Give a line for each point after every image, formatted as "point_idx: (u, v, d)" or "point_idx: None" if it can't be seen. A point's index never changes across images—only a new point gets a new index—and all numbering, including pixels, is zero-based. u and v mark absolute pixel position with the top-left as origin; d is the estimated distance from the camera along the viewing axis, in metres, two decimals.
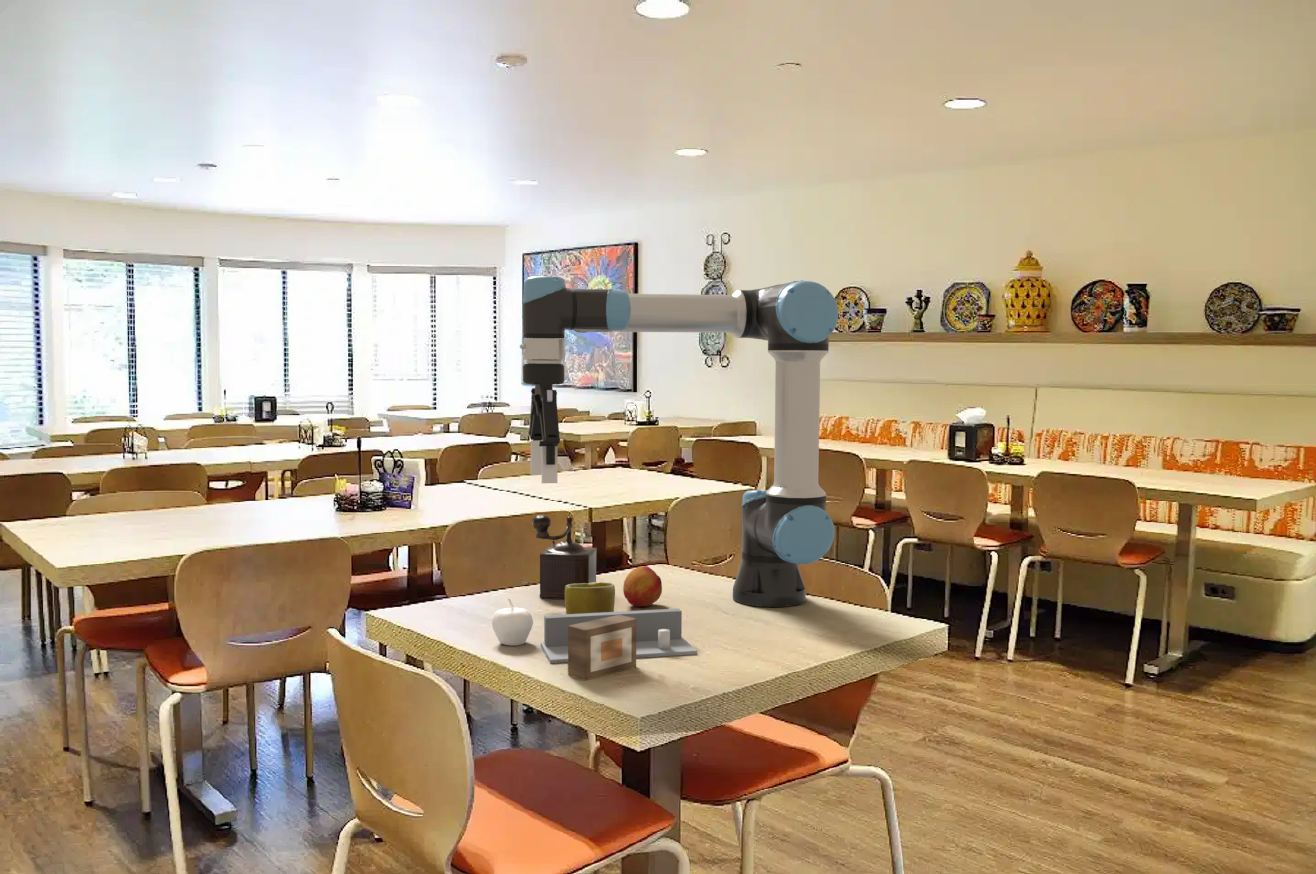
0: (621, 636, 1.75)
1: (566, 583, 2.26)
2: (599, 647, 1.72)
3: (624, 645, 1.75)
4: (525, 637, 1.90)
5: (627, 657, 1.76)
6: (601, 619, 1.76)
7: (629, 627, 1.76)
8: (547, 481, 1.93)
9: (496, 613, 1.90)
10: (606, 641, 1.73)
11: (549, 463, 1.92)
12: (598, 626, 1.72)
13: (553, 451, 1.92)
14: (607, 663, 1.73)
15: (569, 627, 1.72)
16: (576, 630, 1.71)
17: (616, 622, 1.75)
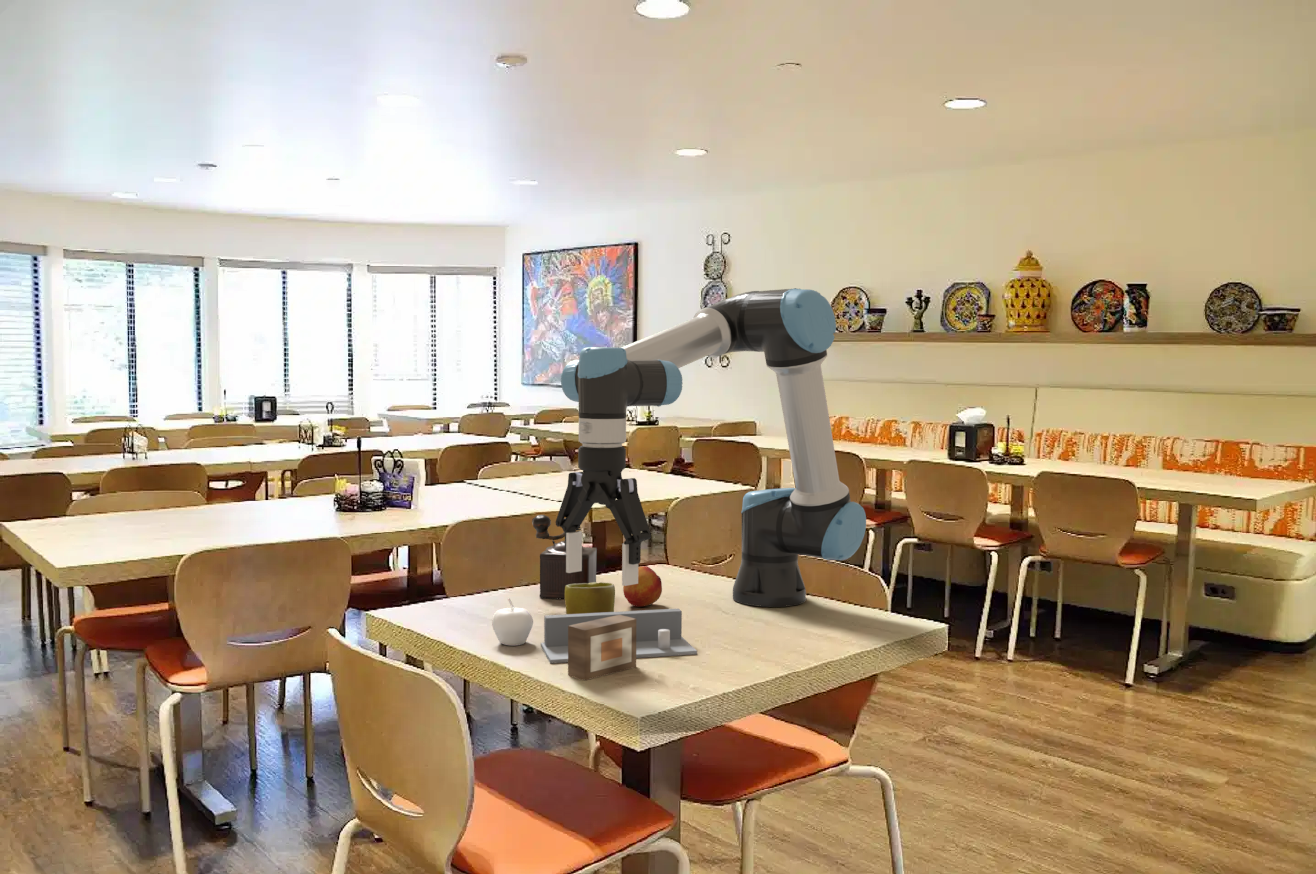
0: (621, 636, 1.75)
1: (566, 583, 2.26)
2: (599, 647, 1.72)
3: (624, 645, 1.75)
4: (525, 637, 1.90)
5: (627, 657, 1.76)
6: (601, 619, 1.76)
7: (629, 627, 1.76)
8: (629, 583, 1.69)
9: (496, 613, 1.90)
10: (606, 641, 1.73)
11: (635, 562, 1.68)
12: (598, 626, 1.72)
13: (639, 548, 1.68)
14: (607, 663, 1.73)
15: (569, 627, 1.72)
16: (576, 630, 1.71)
17: (616, 622, 1.75)
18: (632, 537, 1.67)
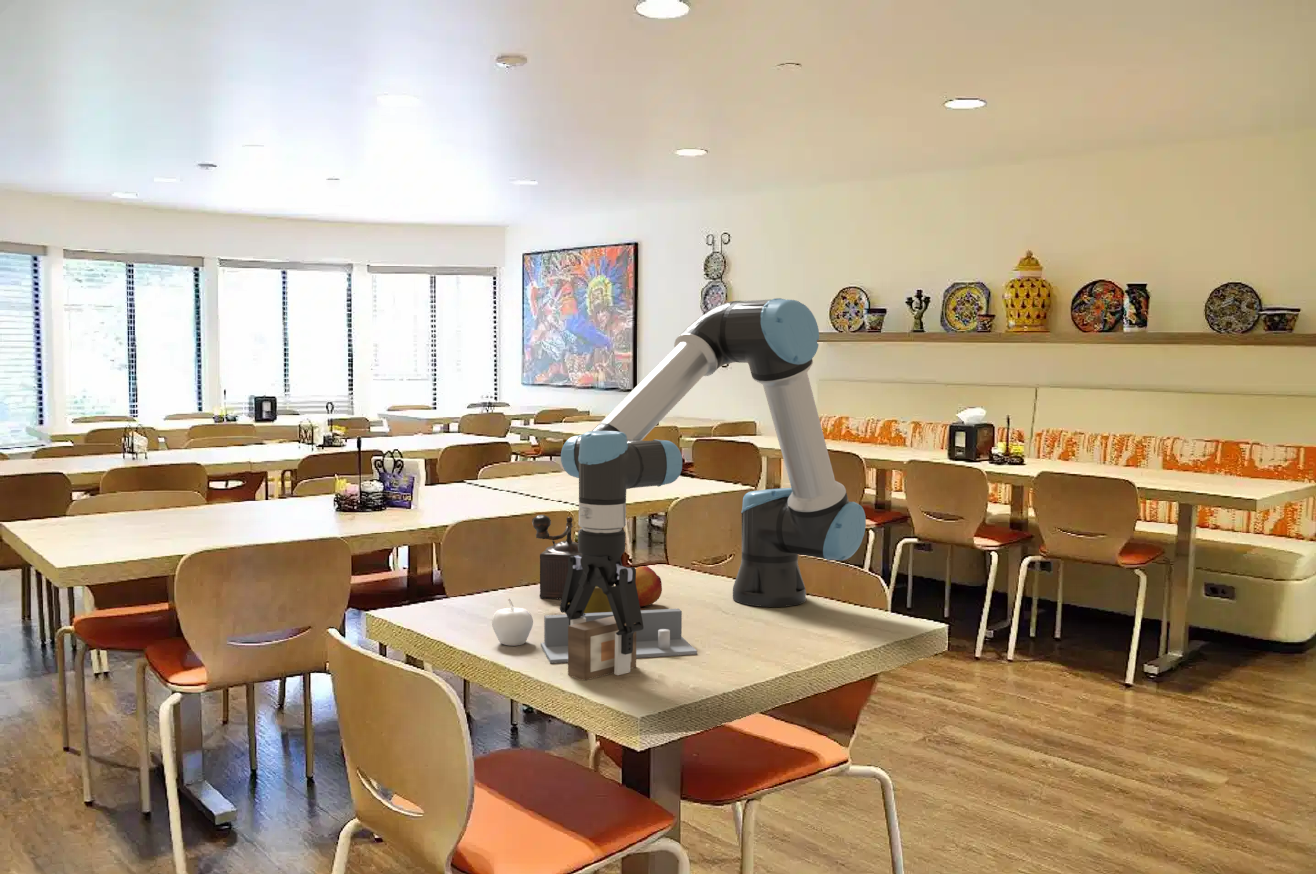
0: None
1: None
2: (599, 647, 1.72)
3: None
4: (525, 637, 1.90)
5: None
6: (601, 619, 1.76)
7: None
8: (622, 672, 1.71)
9: (496, 613, 1.90)
10: (606, 641, 1.73)
11: (627, 652, 1.70)
12: (598, 626, 1.72)
13: (631, 638, 1.71)
14: (607, 663, 1.73)
15: (569, 627, 1.72)
16: (576, 630, 1.71)
17: None
18: (625, 628, 1.70)
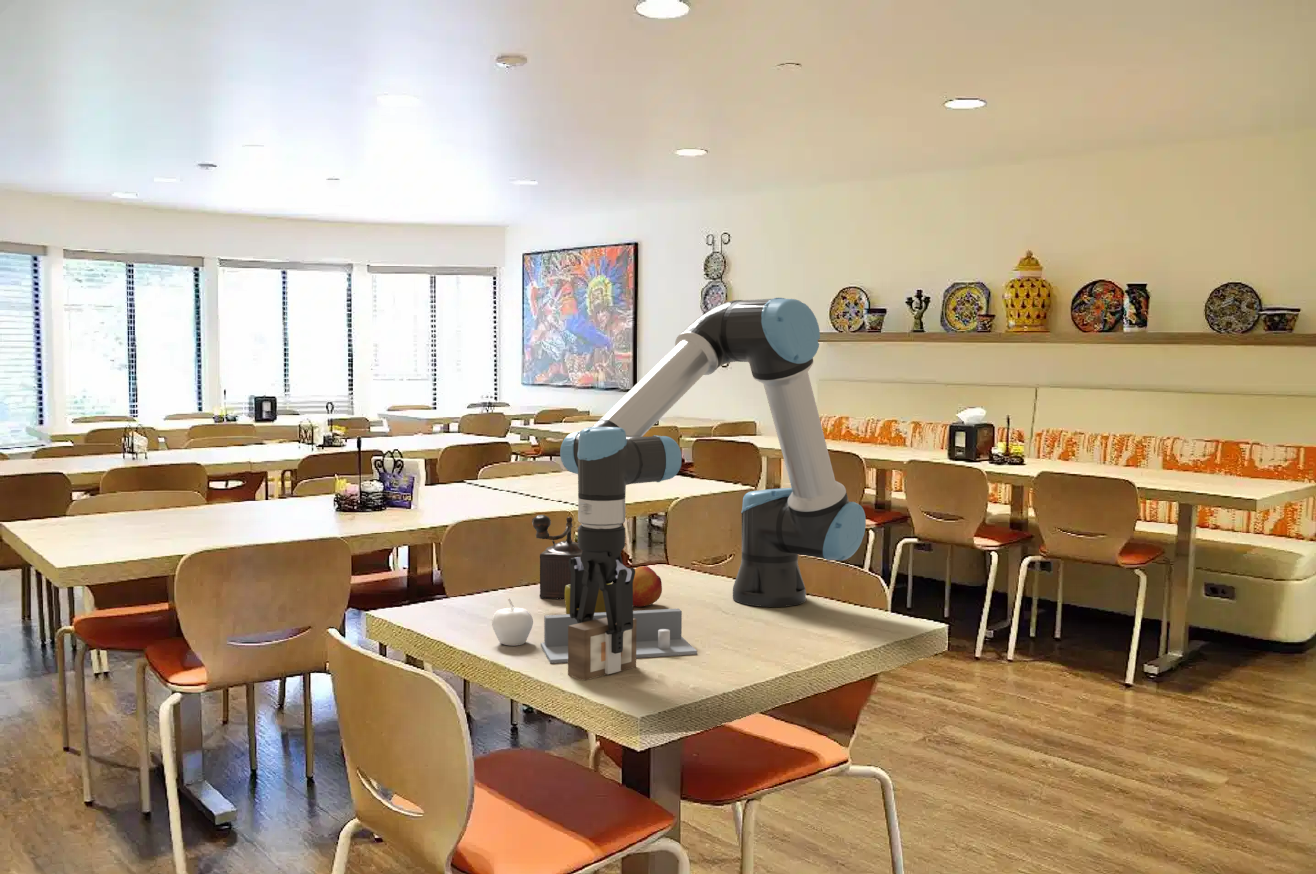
0: None
1: (566, 583, 2.26)
2: (599, 647, 1.72)
3: (624, 645, 1.75)
4: (525, 637, 1.90)
5: (627, 657, 1.76)
6: (601, 619, 1.76)
7: None
8: (612, 671, 1.73)
9: (496, 613, 1.90)
10: None
11: (617, 651, 1.72)
12: (598, 626, 1.72)
13: (621, 638, 1.72)
14: None
15: (569, 627, 1.72)
16: (576, 630, 1.71)
17: None
18: (614, 627, 1.71)
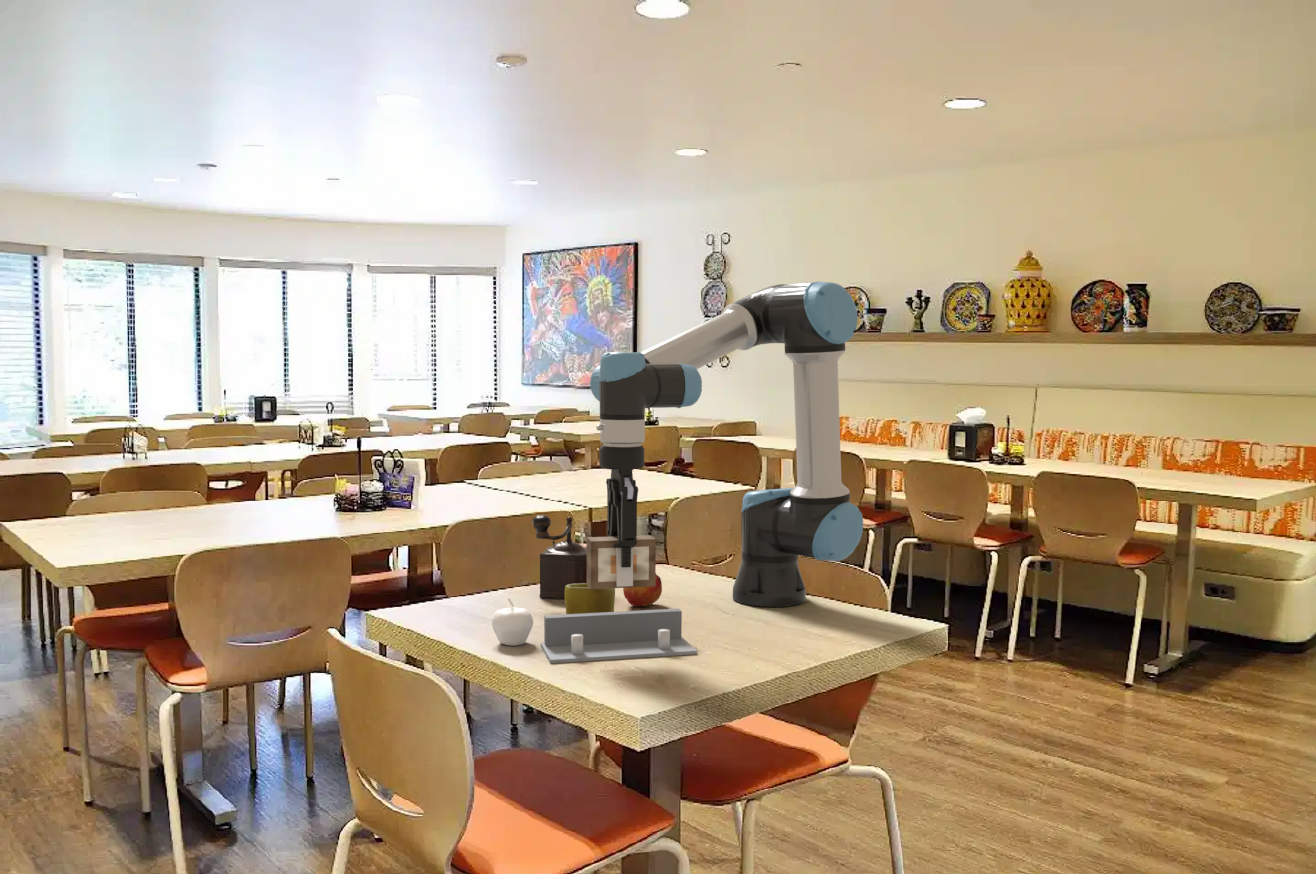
0: (635, 553, 1.82)
1: (566, 583, 2.26)
2: (608, 559, 1.81)
3: (639, 562, 1.83)
4: (525, 637, 1.90)
5: (643, 574, 1.83)
6: None
7: (646, 546, 1.83)
8: (622, 584, 1.81)
9: (496, 613, 1.90)
10: None
11: (625, 566, 1.80)
12: (609, 540, 1.82)
13: (629, 553, 1.80)
14: None
15: None
16: (588, 541, 1.83)
17: None
18: None
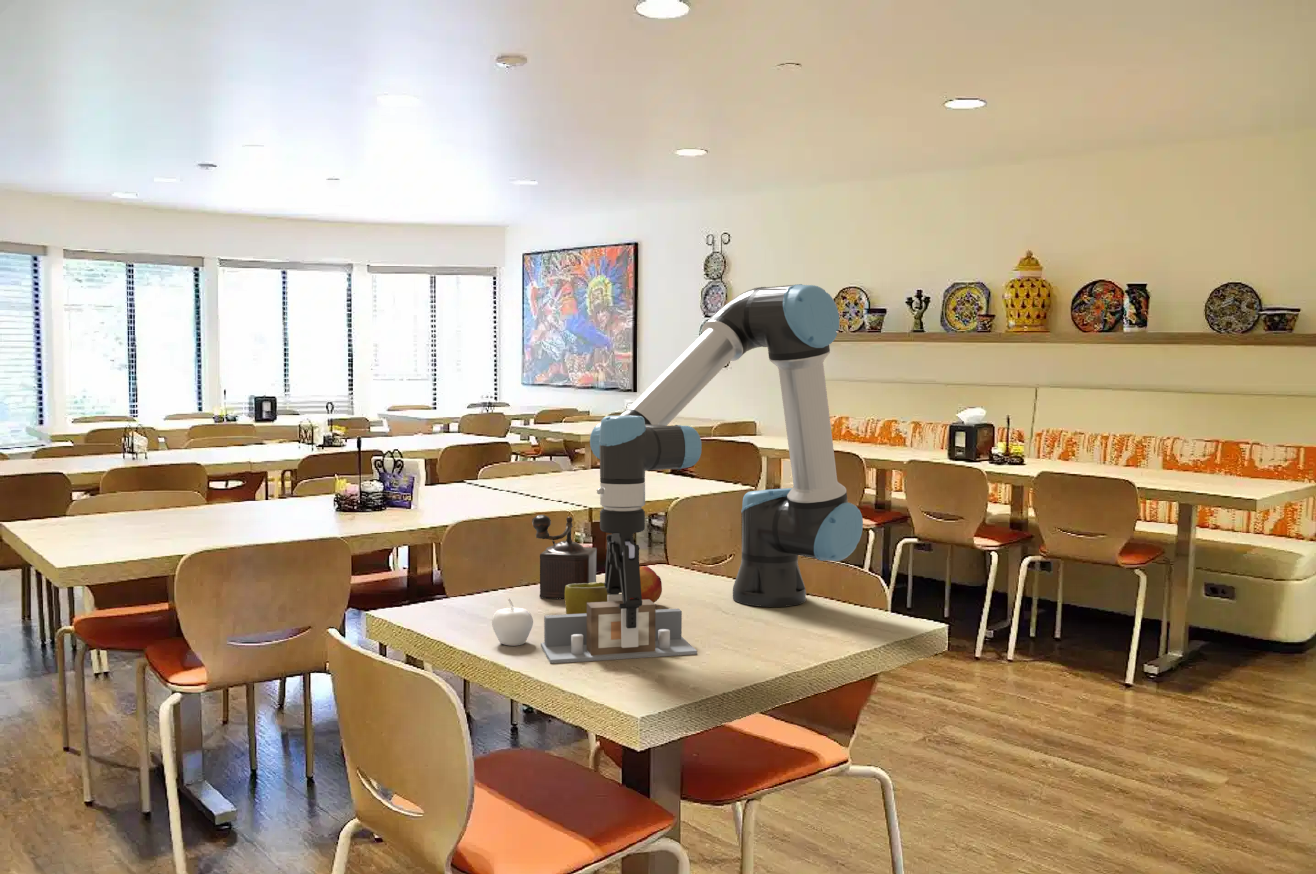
0: None
1: (566, 583, 2.26)
2: (608, 626, 1.82)
3: (639, 628, 1.84)
4: (525, 637, 1.90)
5: (643, 640, 1.84)
6: None
7: (646, 611, 1.84)
8: (627, 645, 1.78)
9: (496, 613, 1.90)
10: (617, 621, 1.83)
11: (630, 626, 1.77)
12: (609, 606, 1.83)
13: (634, 613, 1.77)
14: (618, 642, 1.83)
15: (587, 604, 1.85)
16: (588, 607, 1.83)
17: None
18: None
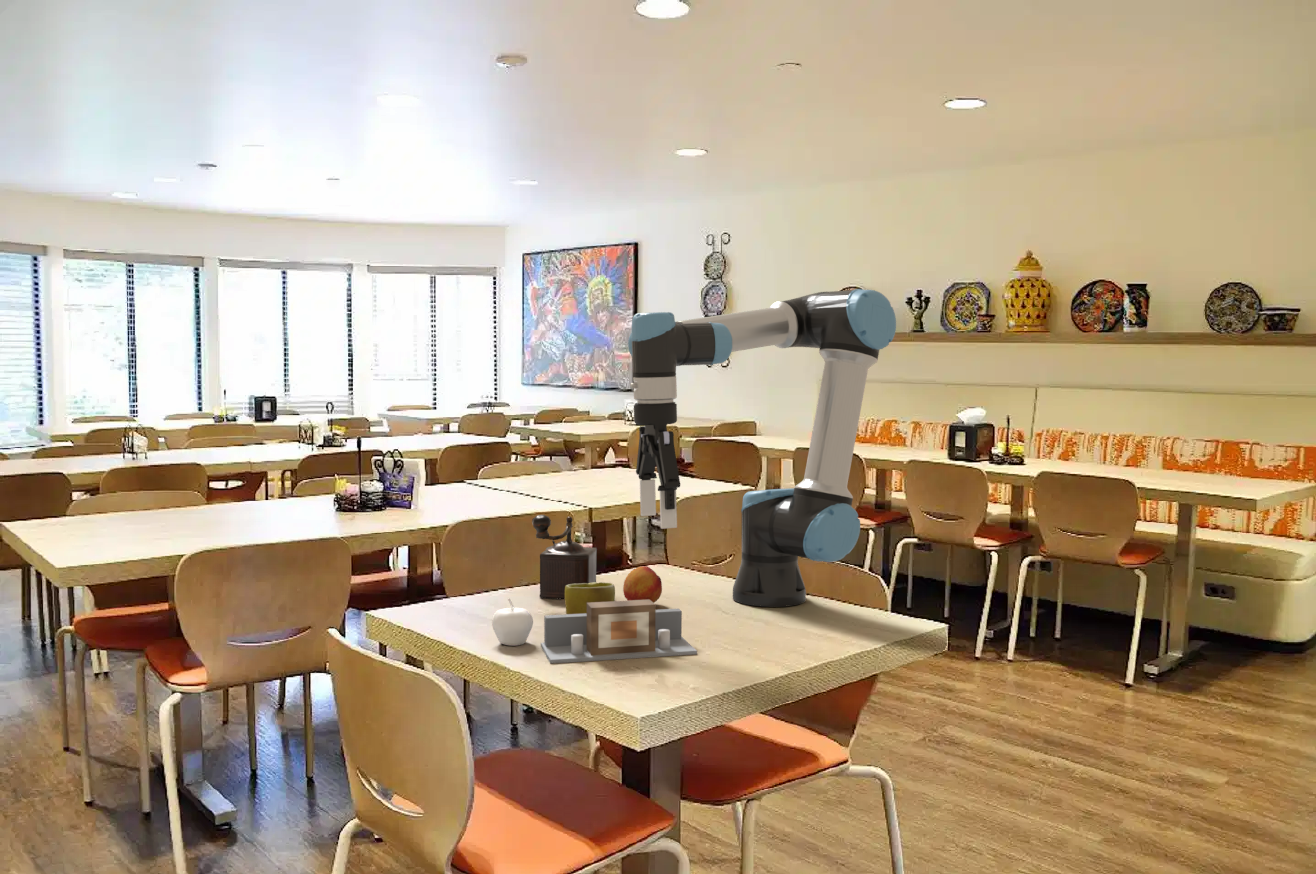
0: (635, 619, 1.83)
1: (566, 583, 2.26)
2: (608, 626, 1.82)
3: (639, 628, 1.84)
4: (525, 637, 1.90)
5: (643, 640, 1.84)
6: (625, 601, 1.86)
7: (646, 611, 1.84)
8: (667, 526, 1.86)
9: (496, 613, 1.90)
10: (617, 621, 1.83)
11: (669, 508, 1.85)
12: (609, 606, 1.83)
13: (673, 495, 1.85)
14: (618, 642, 1.83)
15: (587, 604, 1.85)
16: (588, 607, 1.83)
17: (632, 605, 1.84)
18: None
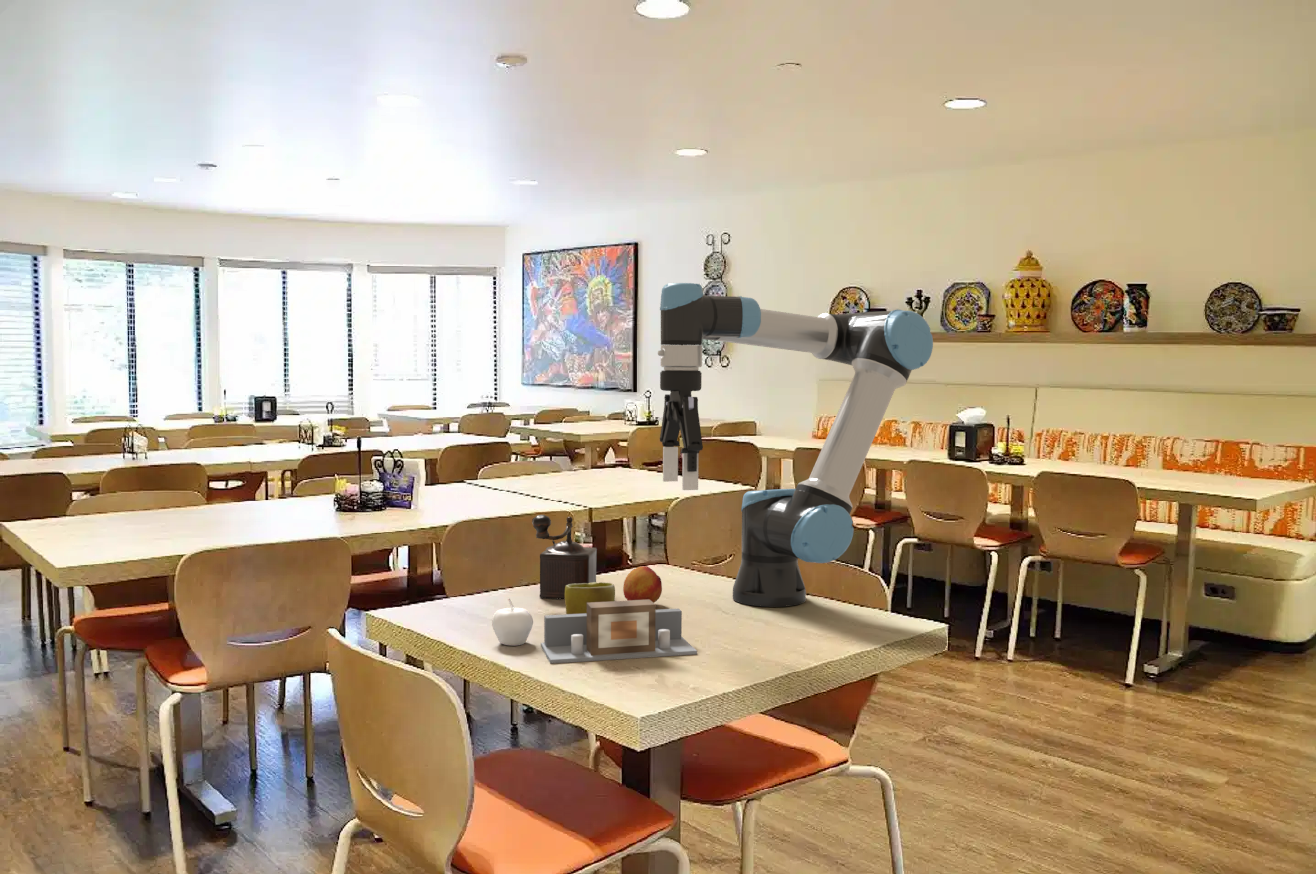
0: (635, 619, 1.83)
1: (566, 583, 2.26)
2: (608, 626, 1.82)
3: (639, 628, 1.84)
4: (525, 637, 1.90)
5: (643, 640, 1.84)
6: (625, 601, 1.86)
7: (646, 611, 1.84)
8: (688, 488, 1.93)
9: (496, 613, 1.90)
10: (617, 621, 1.83)
11: (691, 470, 1.92)
12: (609, 606, 1.83)
13: (695, 458, 1.92)
14: (618, 642, 1.83)
15: (587, 604, 1.85)
16: (588, 607, 1.83)
17: (632, 605, 1.84)
18: (688, 447, 1.92)
